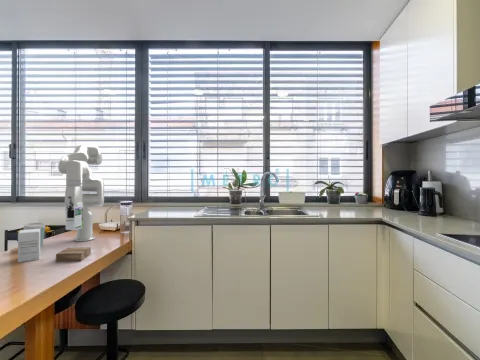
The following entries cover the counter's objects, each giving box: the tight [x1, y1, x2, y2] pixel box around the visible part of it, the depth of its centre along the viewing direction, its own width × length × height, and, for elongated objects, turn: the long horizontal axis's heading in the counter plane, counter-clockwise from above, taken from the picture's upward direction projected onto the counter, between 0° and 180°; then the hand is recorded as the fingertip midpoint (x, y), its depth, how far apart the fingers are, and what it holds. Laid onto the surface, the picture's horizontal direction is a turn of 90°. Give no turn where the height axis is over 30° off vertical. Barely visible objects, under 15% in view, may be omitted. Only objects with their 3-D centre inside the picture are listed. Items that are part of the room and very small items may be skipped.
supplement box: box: [17, 229, 41, 263], centre depth 141 cm, size 9×9×15 cm
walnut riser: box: [55, 246, 92, 263], centre depth 144 cm, size 12×12×4 cm
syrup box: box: [64, 202, 83, 231], centre depth 144 cm, size 6×6×14 cm
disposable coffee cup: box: [22, 222, 47, 249], centre depth 160 cm, size 11×11×15 cm
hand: (74, 216), depth 144 cm, fingers closed on syrup box, 7 cm apart
